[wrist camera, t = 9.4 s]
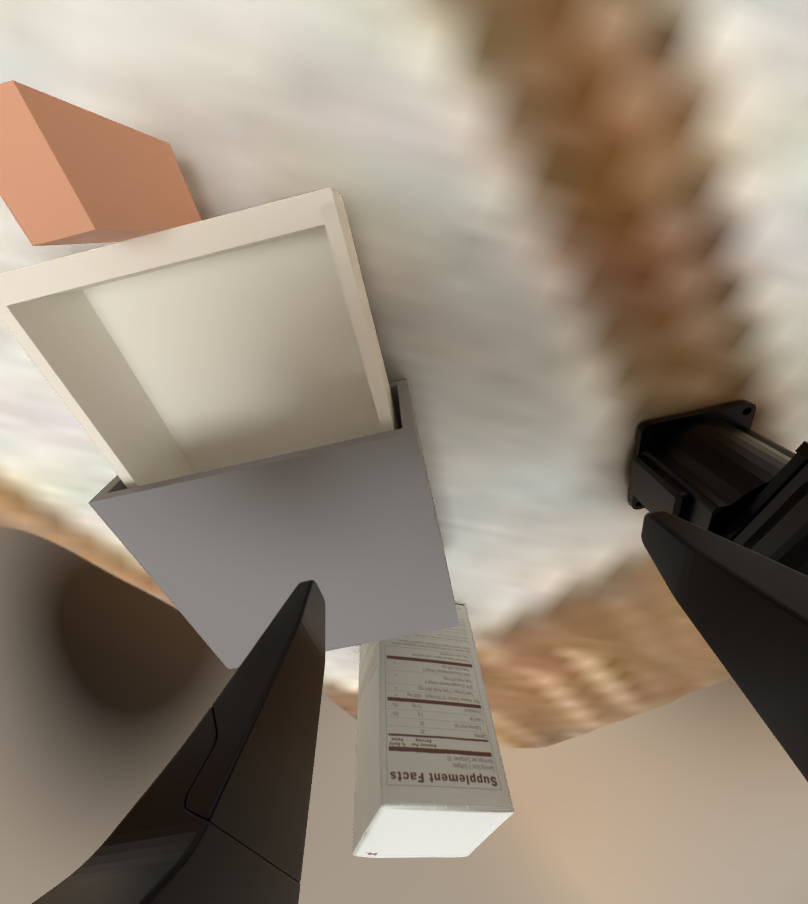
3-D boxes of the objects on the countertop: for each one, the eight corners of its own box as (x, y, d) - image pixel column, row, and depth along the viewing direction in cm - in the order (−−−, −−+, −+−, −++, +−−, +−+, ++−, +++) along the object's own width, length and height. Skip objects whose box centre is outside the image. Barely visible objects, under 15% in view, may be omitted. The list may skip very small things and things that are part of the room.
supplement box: (439, 656, 33) (468, 860, 23) (357, 646, 32) (347, 860, 21) (468, 603, 30) (519, 815, 19) (378, 590, 29) (378, 812, 18)
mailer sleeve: (405, 378, 20) (415, 431, 15) (443, 549, 27) (459, 626, 21) (160, 434, 21) (88, 502, 16) (256, 586, 27) (228, 669, 22)
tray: (321, 113, 14) (267, 5, 7) (405, 451, 22) (418, 553, 15) (20, 196, 15) (-289, 169, 8) (205, 494, 22) (130, 610, 16)
